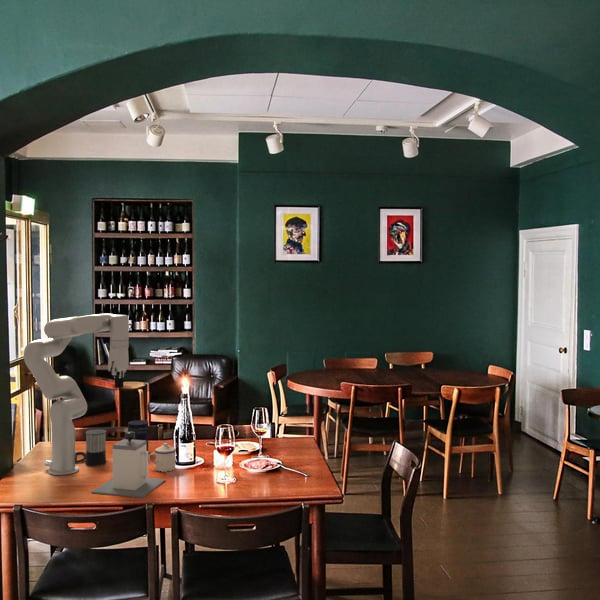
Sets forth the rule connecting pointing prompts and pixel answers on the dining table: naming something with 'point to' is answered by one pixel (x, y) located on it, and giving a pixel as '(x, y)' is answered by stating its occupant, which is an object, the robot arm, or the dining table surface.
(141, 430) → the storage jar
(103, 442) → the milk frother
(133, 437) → the plunger
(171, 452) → the teacup with lid
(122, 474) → the box
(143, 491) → the slate mat
